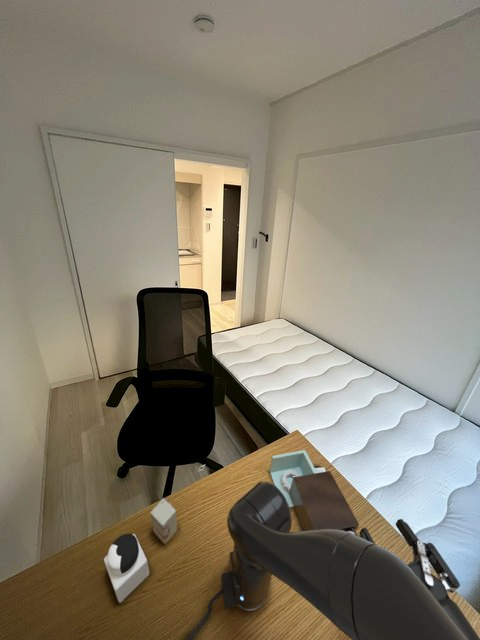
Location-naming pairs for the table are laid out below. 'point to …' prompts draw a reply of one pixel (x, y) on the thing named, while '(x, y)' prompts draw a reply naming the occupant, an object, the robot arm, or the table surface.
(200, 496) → the table surface
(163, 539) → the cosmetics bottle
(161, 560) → the table surface
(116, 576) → the white block with dome
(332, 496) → the cabinet
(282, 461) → the teal open bin
